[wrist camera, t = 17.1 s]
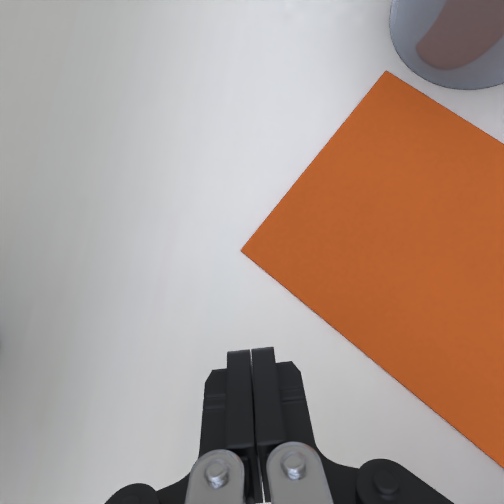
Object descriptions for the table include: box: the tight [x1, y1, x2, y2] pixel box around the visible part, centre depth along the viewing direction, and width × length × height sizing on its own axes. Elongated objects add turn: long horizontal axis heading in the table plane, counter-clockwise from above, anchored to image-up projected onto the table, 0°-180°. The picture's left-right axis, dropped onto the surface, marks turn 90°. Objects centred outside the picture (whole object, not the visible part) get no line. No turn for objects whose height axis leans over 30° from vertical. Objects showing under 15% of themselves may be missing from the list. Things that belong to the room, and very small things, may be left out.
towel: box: [241, 71, 504, 468], centre depth 30 cm, size 24×18×1 cm
